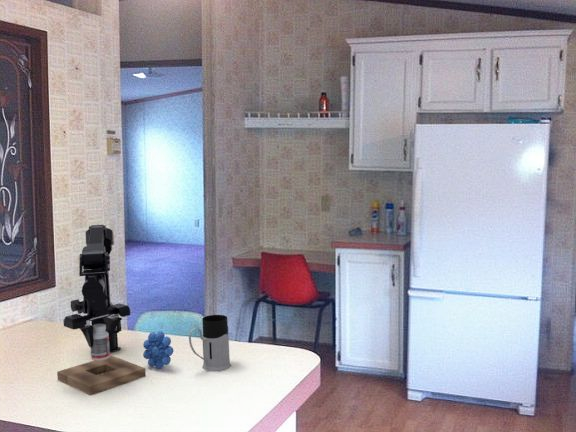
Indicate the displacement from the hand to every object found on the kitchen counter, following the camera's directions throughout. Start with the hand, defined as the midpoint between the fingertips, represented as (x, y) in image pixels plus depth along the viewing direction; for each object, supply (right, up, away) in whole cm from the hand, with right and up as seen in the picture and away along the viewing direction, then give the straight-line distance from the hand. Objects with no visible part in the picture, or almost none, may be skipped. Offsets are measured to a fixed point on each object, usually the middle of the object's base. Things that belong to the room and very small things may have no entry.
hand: (99, 344), depth 191 cm
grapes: (+16, -9, +8) cm, 20 cm away
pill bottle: (0, -4, +1) cm, 4 cm away
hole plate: (0, -10, +1) cm, 10 cm away
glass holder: (+31, -9, +6) cm, 33 cm away
